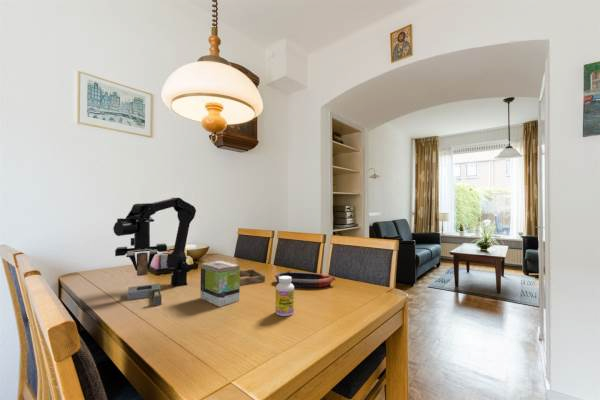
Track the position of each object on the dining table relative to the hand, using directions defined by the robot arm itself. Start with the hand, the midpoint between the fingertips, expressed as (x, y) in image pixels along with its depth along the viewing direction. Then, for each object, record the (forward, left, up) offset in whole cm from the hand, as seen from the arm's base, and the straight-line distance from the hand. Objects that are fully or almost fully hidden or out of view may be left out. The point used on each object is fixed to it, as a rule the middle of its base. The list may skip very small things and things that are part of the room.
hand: (142, 269), depth 114 cm
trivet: (-46, -5, -12) cm, 48 cm away
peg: (0, 0, -2) cm, 2 cm away
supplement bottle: (-45, +45, -12) cm, 65 cm away
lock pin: (-5, +8, -11) cm, 15 cm away
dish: (-70, +17, -12) cm, 73 cm away
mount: (-1, -3, -12) cm, 12 cm away
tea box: (-28, +19, -12) cm, 36 cm away
